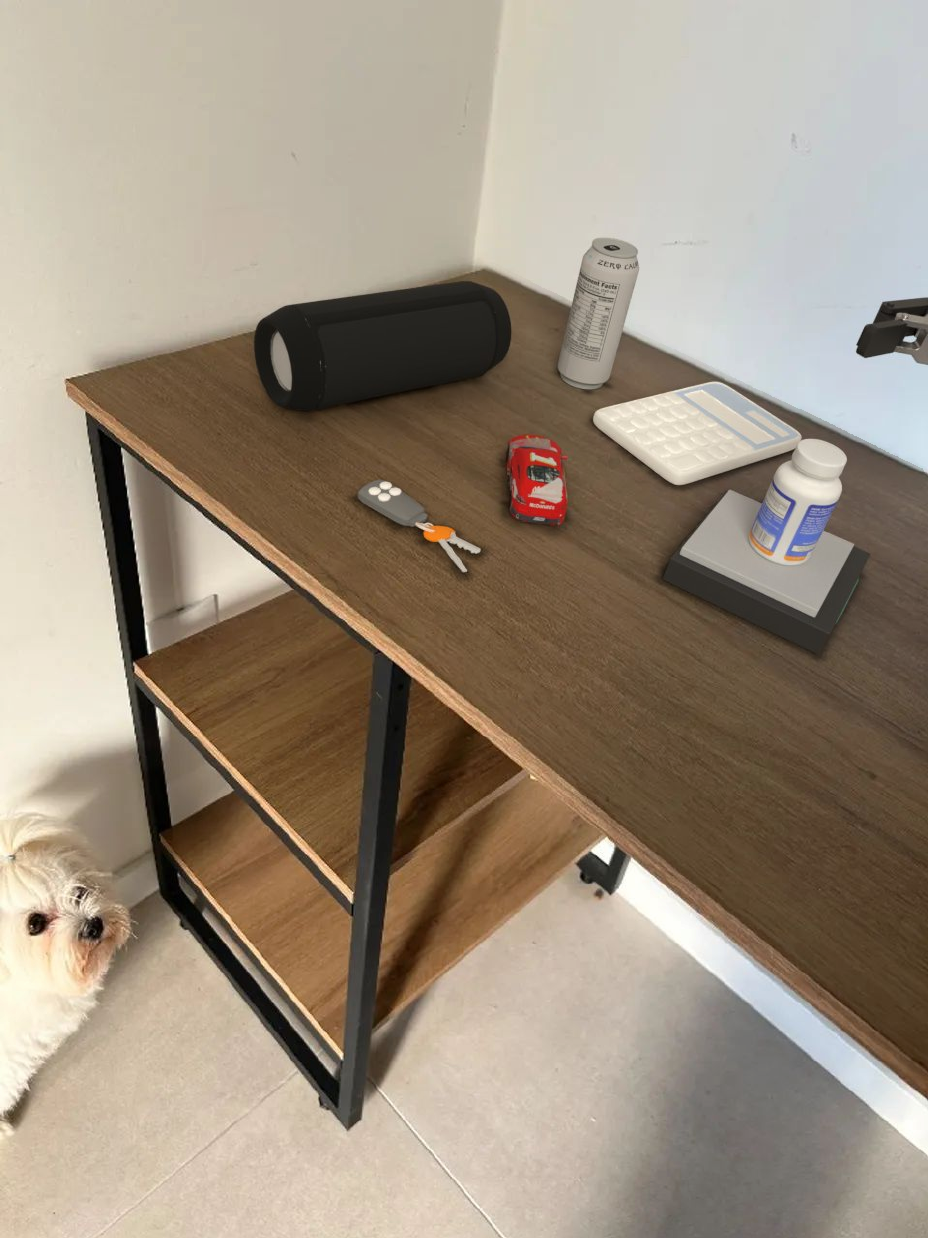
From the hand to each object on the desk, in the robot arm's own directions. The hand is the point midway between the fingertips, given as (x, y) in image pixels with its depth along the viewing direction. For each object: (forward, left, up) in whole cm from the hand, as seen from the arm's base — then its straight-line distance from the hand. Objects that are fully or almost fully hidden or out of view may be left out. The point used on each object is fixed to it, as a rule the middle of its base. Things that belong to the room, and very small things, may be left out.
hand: (914, 370), depth 62 cm
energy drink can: (+33, -26, -23) cm, 48 cm away
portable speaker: (+47, -7, -23) cm, 53 cm away
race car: (+26, -2, -24) cm, 35 cm away
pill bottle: (+4, -6, -20) cm, 21 cm away
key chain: (+30, +10, -24) cm, 39 cm away
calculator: (+18, -24, -23) cm, 38 cm away
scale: (+4, -5, -23) cm, 24 cm away
